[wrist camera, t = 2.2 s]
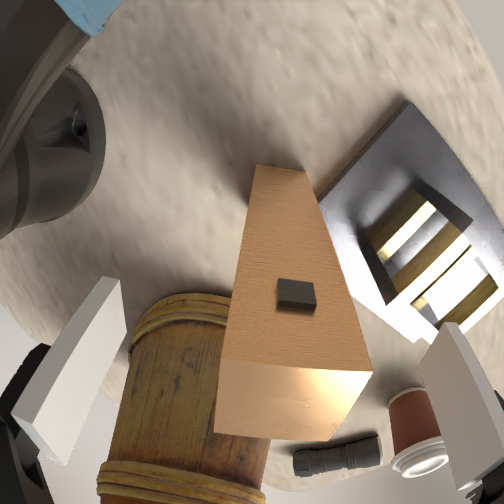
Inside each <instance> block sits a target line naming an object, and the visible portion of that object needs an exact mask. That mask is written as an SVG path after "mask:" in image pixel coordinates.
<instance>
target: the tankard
mask: <svg viewBox="0 0 504 504" xmlns="http://www.w3.org/2000/svg"><path fill="white" fill-rule="evenodd" d="M230 303H231V298H227V297H222V296H217V295H212V294H202V293H185V294H173V295H172V296H169V297H166V298H164V299H162V300H160V301H158V302H157V303H155V304H154V305H153V306H151V307H150V308H149V309H148V310H147V311H146V312H145V313H144V315H143V316H142V318H141V319H140V321H139V322H138V324H137V326H136V328H135V330H134V332H133V338H132V340H131V342H130V345H129V350H128V362H129V365H130V366H129V370H128V374H127V378H126V383H125V387H124V391H123V396H122V400H121V404H120V408H119V412H118V417H117V421H116V425H115V429H114V433H113V437H112V442H111V446H110V451H109V455H108V459H107V461H106V462H104V463H103V464H101V467H100V471H99V474H98V477H97V479H96V480H97V484H98V486H97V495H99V496H100V497H101V501H100V502H101V503H100V504H265V495H264V494H263V493H262V492H261V491H260V488H261V483H262V478H263V473H264V468H265V464H266V459H267V455H268V450H269V446H270V441H271V439H267V438H256V437H246V436H238V435H230V434H222V433H216V432H214V422H215V411H216V401H217V391H218V381H219V371H220V361H221V354H222V348H223V343H224V337H225V331H226V326H227V320H228V315H229V309H230Z"/></svg>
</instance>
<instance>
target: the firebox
mask: <svg viewBox="0 0 504 504" xmlns="http://www.w3.org/2000/svg"><path fill="white" fill-rule="evenodd" d="M317 202H318V204H319V207H320V210H321V212H322V215H323V218H324V220H325V223H326V226H327V228H328V231H329V234H330V237H331V240H332V242H333V245H334V248H335V251H336V254H337V257H338V259H339V262H340V265H341V268H342V271H343V274H344V277H345V280H346V283H347V286H348V289H349V292H350V294H351V295H352V296H353V297H354V298H356V299H357V300H358V301H360V302H361V303H362V304H364V305H365V306H366V307H367V308H369V309H370V310H371V311H373V312H374V313H375V314H377V315H378V316H379V317H380V318H382V319H383V320H384V321H386V322H387V323H388V324H389V325H391V326H392V327H393V328H395V329H396V330H397V331H398V332H400V333H401V334H402V335H403V336H405V337H406V338H407V339H409V340H410V341H411V342H412V343H414V342H415V341H417V340H418V339H419V338H420V337H421V336H422V337H423V338H424V339H425V340H427V341H428V342H429V343H430V344H432V342H433V340H434V339H435V337H436V335H437V333H438V332H439V330H440V328H441V326H442V325H443V323H444V322H454V323H457V324H458V325H459V327H460V329H461V331H462V332H463V333H464V332H466V331H467V330H468V329H469V328H470V327H471V326H472V325H473V324H474V323H476V322H477V321H478V320H479V319H480V318H481V317H482V316H483V315H484V314H485V313H486V312H487V311H488V310H490V309H491V308H492V307H493V306H494V305H495V304H496V303H497V302H498V301H499V300H500V299H501V298H502V297H503V296H504V267H503V266H502V264H501V261H502V260H503V259H504V229H503V227H502V225H501V223H500V222H499V220H498V218H497V217H496V215H495V213H494V212H493V210H492V208H491V207H490V205H489V203H488V202H487V200H486V199H485V197H484V195H483V194H482V192H481V191H480V189H479V188H478V186H477V185H476V183H475V182H474V180H473V179H472V177H471V176H470V174H469V173H468V172H467V170H466V169H465V167H464V166H463V165H462V163H461V162H460V160H459V159H458V158H457V156H456V155H455V154H454V152H453V151H452V150H451V148H450V147H449V146H448V144H447V143H446V142H445V141H444V139H443V138H442V137H441V136H440V134H439V133H438V132H437V131H436V130H435V128H434V127H433V126H432V125H431V124H430V122H429V121H428V120H427V119H426V118H425V117H424V115H423V114H422V113H421V112H420V111H419V110H418V109H417V107H416V106H415V105H414V104H413V103H412V102H409V101H405V102H404V103H403V105H402V106H401V107H400V108H399V109H398V110H397V111H396V112H395V114H394V115H393V116H392V117H391V118H390V119H389V120H388V121H387V122H386V124H385V125H384V126H383V127H382V128H381V129H380V130H379V131H378V132H377V134H376V135H375V136H374V137H373V138H372V139H371V140H370V141H369V142H368V144H367V145H366V146H365V147H364V148H363V149H362V150H361V151H360V152H359V153H358V155H357V156H356V157H355V158H354V159H353V160H352V161H351V162H350V163H349V164H348V166H347V167H346V168H345V169H344V170H343V171H342V172H341V173H340V174H339V175H338V177H337V178H336V179H335V180H334V181H333V182H332V183H331V184H330V185H329V186H328V188H327V189H326V190H325V191H324V192H323V193H322V194H321V195H320V196H319V197H318V198H317Z"/></svg>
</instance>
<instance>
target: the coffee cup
mask: <svg viewBox="0 0 504 504" xmlns="http://www.w3.org/2000/svg"><path fill="white" fill-rule="evenodd" d="M388 409H389V415H390V422H391V429H392V437H393V445H394V453H395V456H394V458H393V459H392V460H391V465H392V469H393V470H396V471H398V472H401V476H402V477H406V478H410V477H417V476H421V475H424V474H427V473H429V472H432V471H434V470H436V469H438V468H439V467H441V466H442V465H444V464H445V463H446V462H447V461H448V460H449V459H448V455H447V452H446V448H445V445H444V442H443V438H442V435H441V432H440V429H439V426H438V423H437V420H436V417H435V414H434V411H433V408H432V405H431V402H430V399H429V396H428V394H427V391H426V389H425V388H423V387H412V388H408V389H406V390H403V391H401V392H399V393H398V394H396V395H395V396H394V397H393V398H391V399H390V401H389V403H388Z"/></svg>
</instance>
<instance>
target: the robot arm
mask: <svg viewBox="0 0 504 504" xmlns="http://www.w3.org/2000/svg"><path fill="white" fill-rule="evenodd" d="M123 1H124V0H0V240H1V239H2V238H3V237H5V236H6V235H7V234H9V233H10V232H11V231H13V230H14V229H15V228H19V227H23V226H27V225H31V224H35V223H42V222H49V221H53V220H56V219H58V218H60V217H62V216H64V215H66V214H67V213H69V212H70V211H71V210H73V209H74V208H75V207H77V206H78V205H79V204H81V203H82V202H83V201H84V200H85V199H86V198H87V197H88V195H89V194H90V193H91V191H92V190H93V188H94V187H95V185H96V183H97V181H98V178H99V176H100V173H101V170H102V166H103V162H104V156H105V146H106V135H105V126H104V120H103V116H102V112H101V109H100V106H99V103H98V101H97V99H96V97H95V95H94V93H93V91H92V90H91V88H90V87H89V86H88V84H87V83H86V82H85V81H84V80H83V79H82V78H81V77H80V76H79V75H77V74H76V73H75V72H73V71H71V70H69V69H67V66H68V65H69V64H70V62H71V61H72V60H73V59H74V57H75V56H76V55H77V54H78V52H79V51H80V50H81V49H82V48H83V46H84V45H85V44H86V43H87V42H88V40H89V39H90V38H91V37H96V36H98V35H99V34H100V33H101V32H102V31H103V30H104V29H105V25H106V20H107V19H108V18H109V17H110V16H111V14H112V13H113V12H114V11H115V10H116V9H117V8H118V7H119V6H120V4H121V3H122V2H123ZM126 333H127V330H126V323H125V316H124V309H123V302H122V294H121V285H120V279H115V278H110V277H105V276H102V277H101V278H100V280H99V281H98V282H97V284H96V285H95V286H94V288H93V289H92V290H91V292H90V293H89V294H88V296H87V297H86V298H85V300H84V301H83V302H82V304H81V305H80V306H79V308H78V309H77V311H76V312H75V313H74V315H73V316H72V318H71V319H70V320H69V322H68V323H67V325H66V326H65V328H64V329H63V330H62V332H61V333H60V335H59V336H58V338H57V339H56V341H55V342H54V344H53V345H52V346H49V345H46V344H43V343H41V344H39V345H38V346H37V347H35V348H34V349H33V350H31V351H30V352H29V354H28V355H27V357H26V358H25V360H24V361H23V364H22V365H20V367H19V369H18V370H17V373H16V374H15V375H14V376H13V378H12V379H11V381H10V382H9V384H8V386H7V387H6V389H5V390H4V392H3V393H2V395H1V397H0V504H54V502H53V499H52V497H51V494H50V492H49V489H48V486H47V483H46V480H45V478H44V475H43V472H42V469H41V466H40V462H39V460H38V458H37V456H38V454H39V451H41V452H42V453H43V455H44V456H45V457H46V458H48V459H50V460H53V461H55V462H57V463H59V464H62V465H64V466H66V465H67V463H68V460H69V457H70V455H71V452H72V450H73V448H74V446H75V443H76V441H77V438H78V436H79V434H80V431H81V429H82V427H83V424H84V422H85V420H86V417H87V415H88V413H89V411H90V408H91V406H92V404H93V402H94V399H95V397H96V395H97V393H98V391H99V389H100V387H101V384H102V382H103V380H104V378H105V376H106V374H107V372H108V370H109V368H110V366H111V363H112V361H113V359H114V357H115V355H116V353H117V351H118V349H119V347H120V345H121V343H122V341H123V339H124V337H125V335H126ZM417 367H418V370H419V372H420V375H421V377H422V380H423V383H424V385H425V388H426V391H427V394H428V396H429V399H430V402H431V405H432V408H433V411H434V414H435V417H436V420H437V423H438V426H439V429H440V432H441V435H442V438H443V442H444V445H445V448H446V452H447V455H448V459H449V462H450V466H451V469H452V473H453V477H454V481H455V484H456V489H457V490H461V489H464V488H467V487H470V486H472V485H474V484H475V483H477V482H478V481H479V480H481V479H482V482H483V483H482V484H481V485H480V486H478V487H477V488H475V489H474V490H472V491H471V492H469V493H468V494H467V496H466V497H465V498H469V497H470V496H472V495H473V494H475V493H476V494H475V496H473V497H472V498H471V499H470V500H471V501H473V502H472V504H504V400H503V398H502V397H501V396H500V395H499V394H498V393H497V391H496V390H493V388H492V386H491V384H490V382H489V380H488V378H487V376H486V374H485V372H484V370H483V368H482V366H481V365H480V363H479V361H478V359H477V357H476V355H475V353H474V352H473V350H472V348H471V346H470V344H469V343H468V341H467V339H466V337H465V336H464V334H463V332H462V331H461V329H460V327H459V325H458V324H457V323H454V322H444V323H443V325H442V326H441V328H440V330H439V332H438V333H437V335H436V337H435V339H434V340H433V342H432V344H431V345H430V347H429V349H428V350H427V352H426V354H425V355H424V357H423V358H422V360H421V361H420V363H419V365H418V366H417Z"/></svg>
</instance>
